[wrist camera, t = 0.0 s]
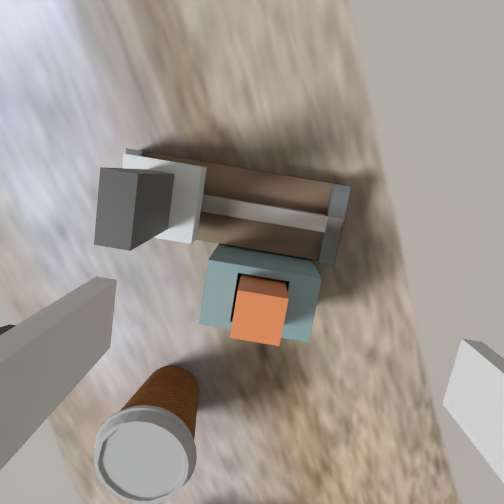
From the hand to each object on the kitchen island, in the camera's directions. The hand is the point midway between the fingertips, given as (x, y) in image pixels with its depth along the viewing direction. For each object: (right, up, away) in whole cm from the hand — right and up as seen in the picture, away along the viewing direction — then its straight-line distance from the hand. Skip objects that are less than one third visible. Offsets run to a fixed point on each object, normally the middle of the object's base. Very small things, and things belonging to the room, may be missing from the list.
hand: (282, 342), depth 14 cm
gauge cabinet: (0, +1, +28) cm, 28 cm away
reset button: (0, 0, +23) cm, 23 cm away
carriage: (-10, +9, +23) cm, 26 cm away
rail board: (-3, +8, +27) cm, 28 cm away
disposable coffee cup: (-11, -13, +32) cm, 36 cm away
